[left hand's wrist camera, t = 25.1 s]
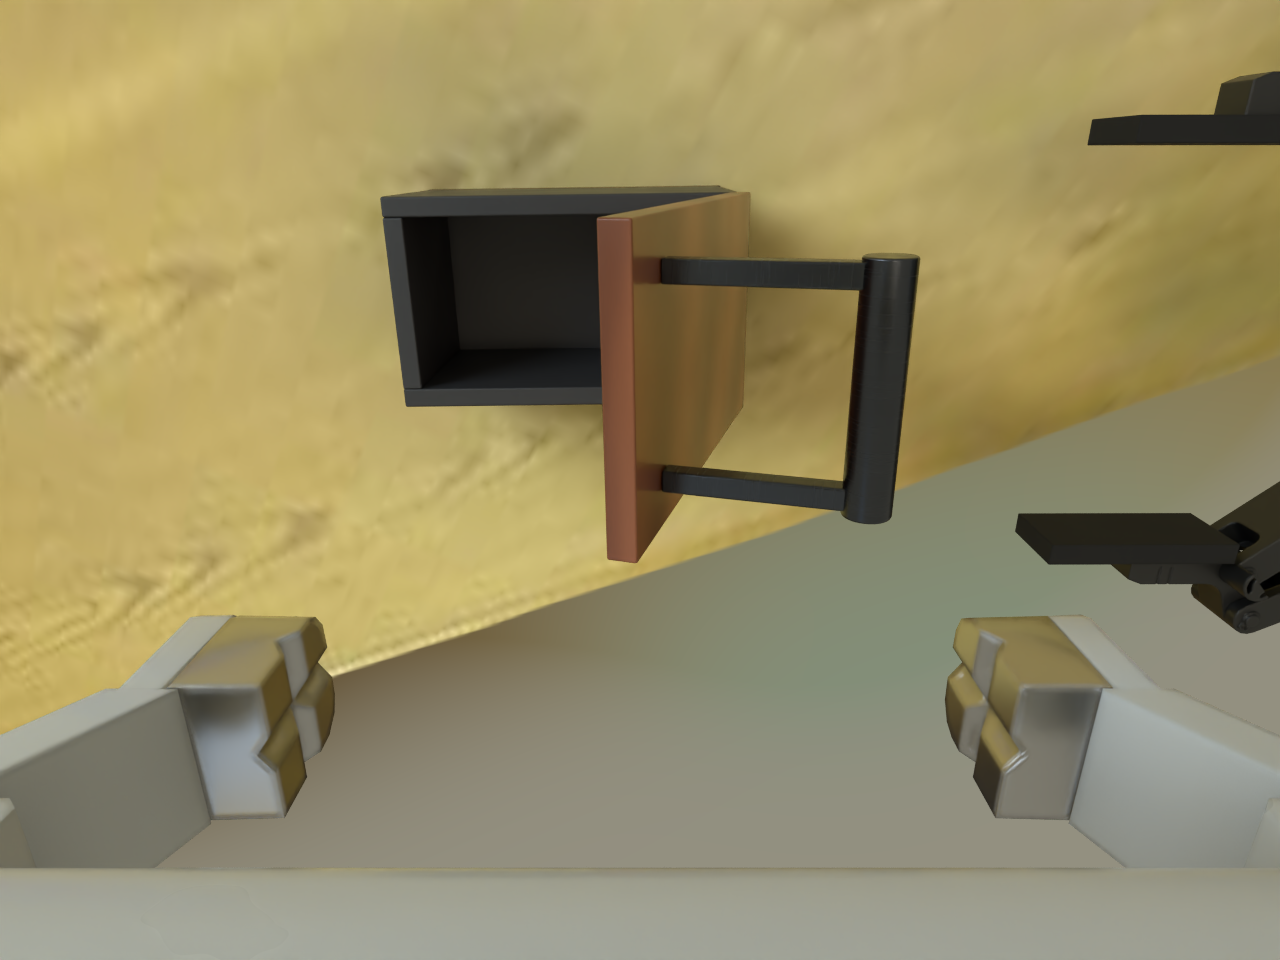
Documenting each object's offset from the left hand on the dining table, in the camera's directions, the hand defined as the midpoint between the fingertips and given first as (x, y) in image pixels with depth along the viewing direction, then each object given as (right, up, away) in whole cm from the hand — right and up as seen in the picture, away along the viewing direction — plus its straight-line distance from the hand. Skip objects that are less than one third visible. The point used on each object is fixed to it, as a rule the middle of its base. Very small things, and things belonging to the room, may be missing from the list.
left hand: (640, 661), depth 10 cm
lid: (+1, +7, +18) cm, 19 cm away
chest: (-3, +14, +34) cm, 37 cm away
